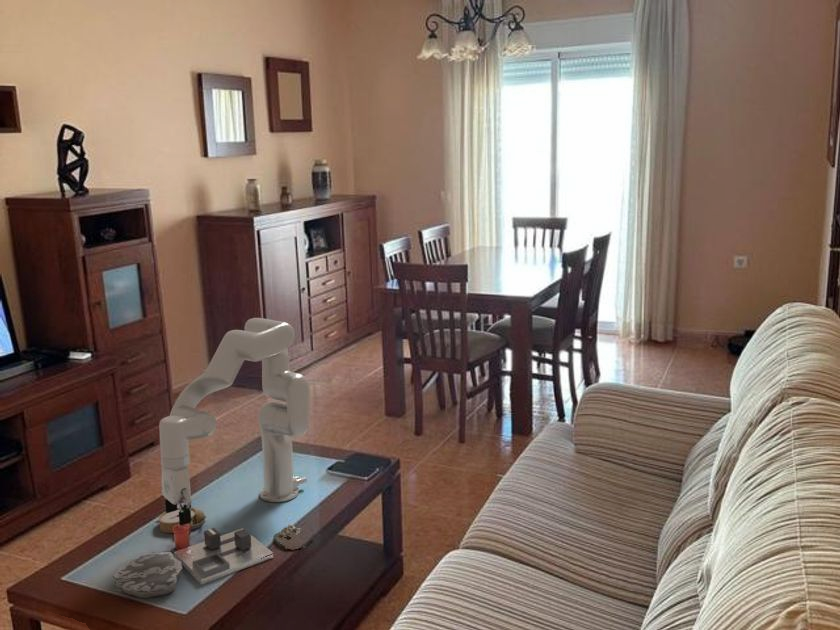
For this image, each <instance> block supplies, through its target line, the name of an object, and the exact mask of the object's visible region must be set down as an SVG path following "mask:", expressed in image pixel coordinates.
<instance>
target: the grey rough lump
mask: <svg viewBox="0 0 840 630" xmlns="http://www.w3.org/2000/svg"><path fill="white" fill-rule="evenodd" d="M300 529H303V528H302V527H300V528H296V526H294V525H292V524H288V525H287V527H286V526H285V527H283V528H282V529H281V531H280V532H277V533H274V534H273V541H274V543H275V544H277V546H278V547H281V548H282V549H285V546H283V545H282V544H280V543H281V538H282V537H283V536H287V535H297V534H298V533H300V531H301V530H300ZM284 538H286V539H287V540H290V539H291V537H289V536H287V537H284ZM314 540H315V538H314V539H313V540H311V541H309V542H308V543H307V544H305V545H303V546H302V547H301V548H300V549H299V550H302V549H305V548H306V547H308V546H311V544H313V543H314ZM285 550H286V549H285Z"/></svg>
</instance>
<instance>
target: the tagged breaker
mask: <svg viewBox="0 0 840 630" xmlns="http://www.w3.org/2000/svg"><path fill="white" fill-rule="evenodd" d="M203 536H204V537H203V538H204V540H203V541H204V542H205V545H206V546H207V547H208V548H209V549H211V550H212V549H215V548H217V547H220V546H221V540H220V536H221V533H220V532H219V531H218V530H217V529H216V528H215V527H212V528H210V529H206V530H204V531H203Z"/></svg>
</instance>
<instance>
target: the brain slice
mask: <svg viewBox="0 0 840 630" xmlns="http://www.w3.org/2000/svg"><path fill="white" fill-rule="evenodd" d="M182 573H183V565H182V564H181V561H179V560H177V559H176V558H175V557H174V553H172V552H171V551H162V552H161V551H160V552H155V553H154V552H153V553H149V554H145V555H141V556H139V557H138V558H135V559H133V560H131V561H129V562H128V563H126V564H124V565H123V566H122V567H120V568H118V569H117V570H116V572H114V574H113V575H112V577H113V578H114V579H115V580H116V581H115V582H114V587H115V588H116V589H117V590H118V591H121V592H124V593H127V594H128V595H130V596H135V597H137V598H143V599H144V598H148V599H149V598H153V597H156V596H157V597H162V596H165V595H167V594H171V592H173V591H174V590H175V589H176V586H177V582H178V581H179V578H180V576H182V575H181V574H182Z"/></svg>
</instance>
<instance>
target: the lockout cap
mask: <svg viewBox="0 0 840 630" xmlns="http://www.w3.org/2000/svg"><path fill="white" fill-rule="evenodd" d="M189 529H190V527H189V525H188V524H185V525H180V524H177V525H175V526H174V527H173V532H174V533H173V537H174V549H175V550H176V551H178V550H181V549H184V548H187V547H190V546H191V545H190V544H191V542H190V532H189Z"/></svg>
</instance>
